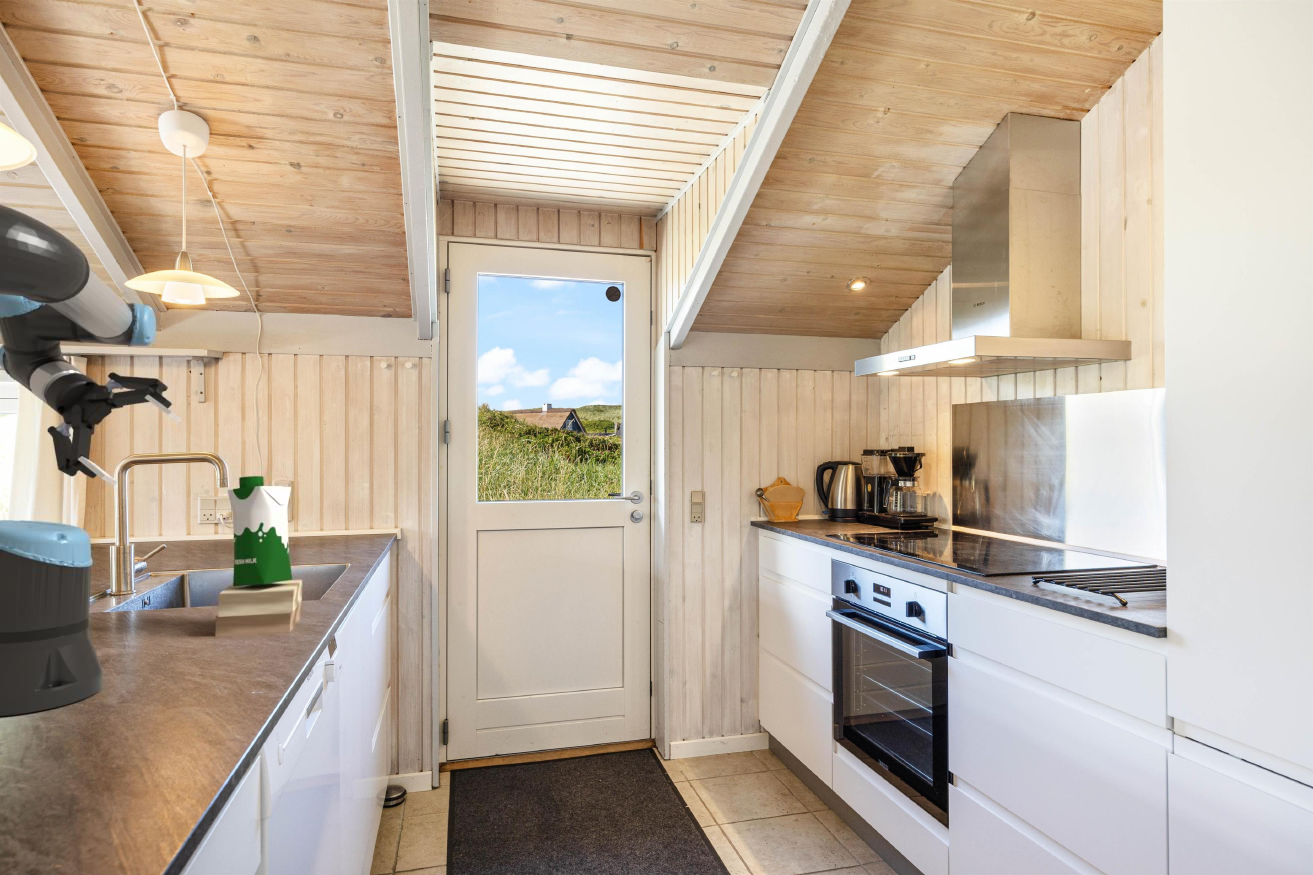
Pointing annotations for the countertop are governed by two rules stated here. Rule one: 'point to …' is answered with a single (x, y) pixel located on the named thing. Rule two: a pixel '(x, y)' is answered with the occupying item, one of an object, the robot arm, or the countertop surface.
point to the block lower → (257, 623)
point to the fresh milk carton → (260, 532)
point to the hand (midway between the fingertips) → (143, 448)
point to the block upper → (260, 599)
